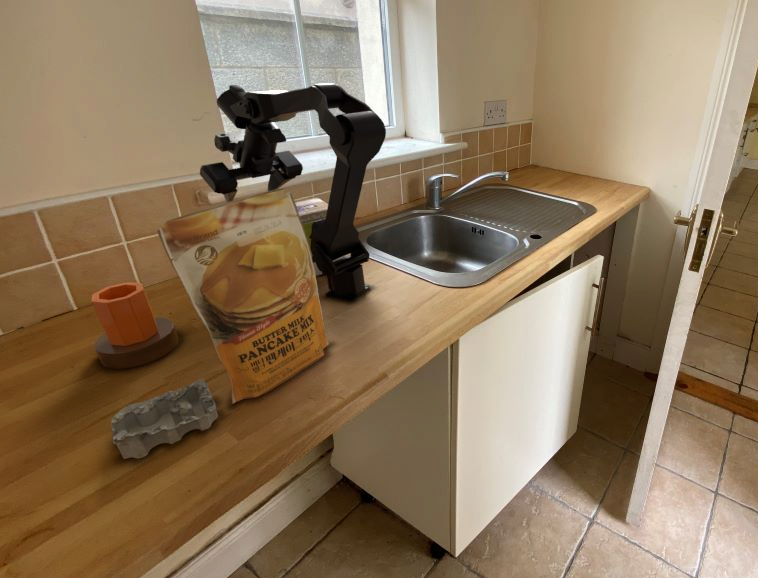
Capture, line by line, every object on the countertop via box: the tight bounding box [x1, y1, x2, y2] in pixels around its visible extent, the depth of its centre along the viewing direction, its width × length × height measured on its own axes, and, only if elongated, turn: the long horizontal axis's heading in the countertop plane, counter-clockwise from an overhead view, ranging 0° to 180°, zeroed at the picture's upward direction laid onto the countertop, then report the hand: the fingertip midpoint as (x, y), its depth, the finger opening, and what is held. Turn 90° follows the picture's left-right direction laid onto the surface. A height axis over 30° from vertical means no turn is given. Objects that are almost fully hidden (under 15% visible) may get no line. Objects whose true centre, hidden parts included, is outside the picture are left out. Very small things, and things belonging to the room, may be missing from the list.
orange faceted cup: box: [91, 281, 159, 346], centre depth 71 cm, size 6×6×8 cm
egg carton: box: [110, 377, 219, 460], centre depth 59 cm, size 11×8×4 cm
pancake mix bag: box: [156, 187, 330, 404], centre depth 65 cm, size 7×19×28 cm, turn 152°
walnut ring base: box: [93, 316, 180, 370], centre depth 73 cm, size 10×10×3 cm
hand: (249, 196), depth 100 cm, fingers open, 9 cm apart
